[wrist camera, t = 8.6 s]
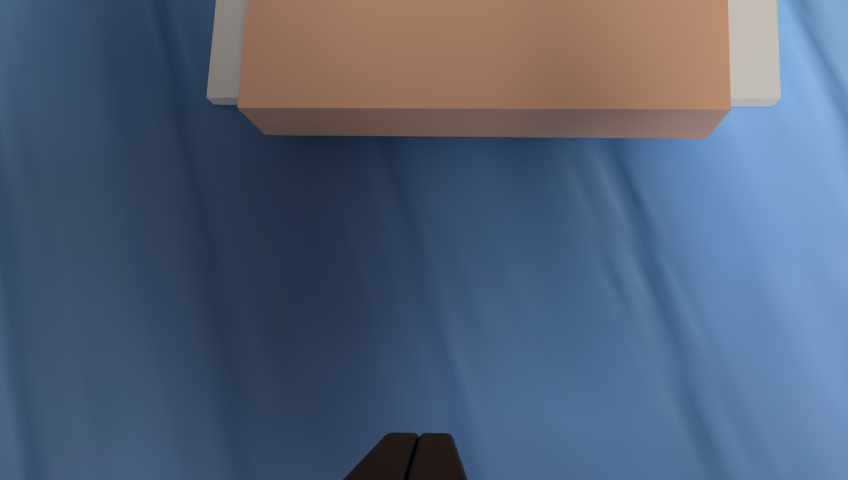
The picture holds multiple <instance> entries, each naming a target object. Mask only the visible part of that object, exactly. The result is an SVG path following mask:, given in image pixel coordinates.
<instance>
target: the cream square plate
mask: <svg viewBox="0 0 848 480" xmlns="http://www.w3.org/2000/svg"><path fill="white" fill-rule="evenodd" d="M246 9H247V0H216V7H215V17H214V27H213V36H212V46H211V56H210V66H209V76H208V86H207V96H206V98H207V99H208V100H210V101H211V102H212V103H213V104H214V105H238V95H239V84H240V74H241V63H242V52H243V41H244V30H245V20H246ZM728 20H729V56H730V92H731V107H773V106H774V105H775V104H776V103H777V102H778V101H779V100H780V99H781V93H780V68H779V43H778V18H777V0H728Z"/></svg>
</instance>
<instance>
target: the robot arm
mask: <svg viewBox="0 0 848 480" xmlns="http://www.w3.org/2000/svg"><path fill="white" fill-rule="evenodd" d="M343 480H468V479H467V476H466V474H465V471H464V468H463V465H462V462H461V459H460V456H459V454H458V451H457V448H456V445H455V442H454V439H453V437H452V436H451V435H450V434H448V433H423V434H422V435H421V436H420V437H419V436H418V435H417V434H416V433H388V434H387V435H385V436H384V437H383V438H382V439H381V440H380V441H379V443H378V444H377V445H376V446H375V447H374V448H373V449H372V450H371V451H370V452H369V453H368V454H367V455H366V456H365V457H364V458H363V459H362V460H361V461H360V462H359V464H358V465H357V466H356V467H355V468H354V469H353V470H352V471H351V472H350V473H349V474H348V475H347V476H346V477H345V478H344V479H343Z"/></svg>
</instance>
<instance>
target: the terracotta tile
mask: <svg viewBox="0 0 848 480" xmlns="http://www.w3.org/2000/svg"><path fill="white" fill-rule="evenodd" d="M237 108H238V109H239V110H240V111H241V112H242V113H243V114H244V115H245V116H246V117H247V118H248V119H249V120H250V121H251V122H252V123H253V124H254V125H255V126H256V127H258V128H259V129H260V130H261V131H262V132H263V133H264V134H265V135H309V136H431V137H553V138H676V139H707V137H708V136H709V135H710V134H711V133H712V131H713V130H714V129H715V128H716V127H717V126H718V124H719V123H720V122H721V121H722V120H723V118H724V117H725V116H726V115H727V114H728V113H729V111H730V110H731V92H730V56H729V20H728V0H247V9H246V20H245V30H244V41H243V52H242V63H241V74H240V84H239V95H238V106H237Z"/></svg>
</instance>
